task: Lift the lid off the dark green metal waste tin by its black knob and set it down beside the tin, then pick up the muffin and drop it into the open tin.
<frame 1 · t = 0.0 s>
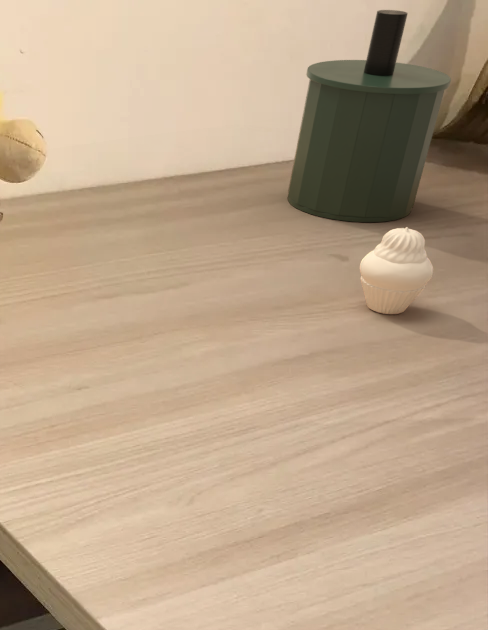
muffin: (385, 310, 93), on the table
tin lid: (376, 79, 109), point 12 cm above the table, touching tin
tin: (348, 203, 117), on the table
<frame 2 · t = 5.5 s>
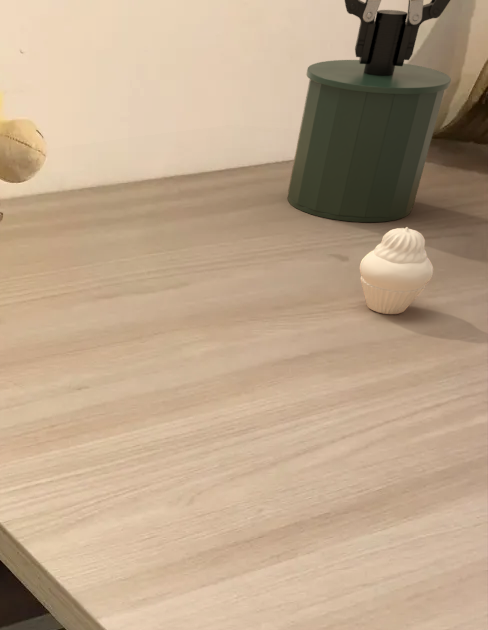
hand: (380, 62, 108), 14 cm above the table, tool pointing down, fingers closed on tin lid, 3 cm apart
tin lid: (376, 79, 109), point 13 cm above the table, touching gripper, tin
everything else where it was.
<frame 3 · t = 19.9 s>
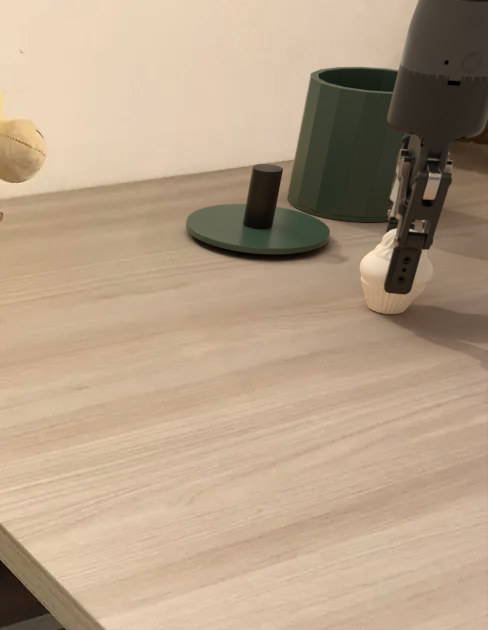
hand: (393, 278, 91), 3 cm above the table, tool pointing down, fingers closed on muffin, 6 cm apart
muffin: (385, 310, 93), on the table, touching gripper
tin lid: (256, 230, 107), point 1 cm above the table
when the fingers open (14 cm above the table, at t = 28.0 s): muffin drops 11 cm, resting on tin.
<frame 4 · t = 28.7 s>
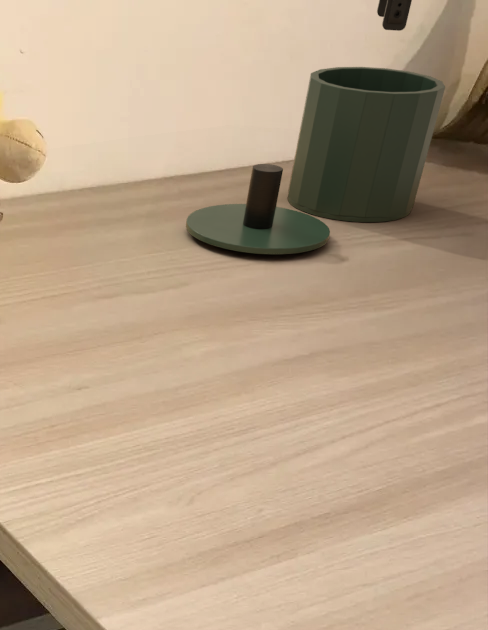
hand: (389, 23, 106), 18 cm above the table, tool pointing down, fingers open, 8 cm apart
muffin: (349, 202, 116), resting on tin
everything else where it was.
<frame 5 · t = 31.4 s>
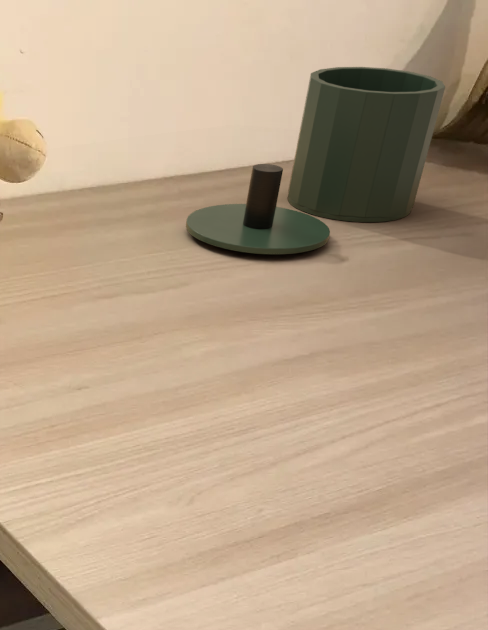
nothing on the table moved.
at the end: muffin inside the target area in the tin (0.5 cm from its centre), point 0.3 cm above the tin's base; tin lid inside the target area (0.0 cm from its centre), point 0.6 cm above the table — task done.
